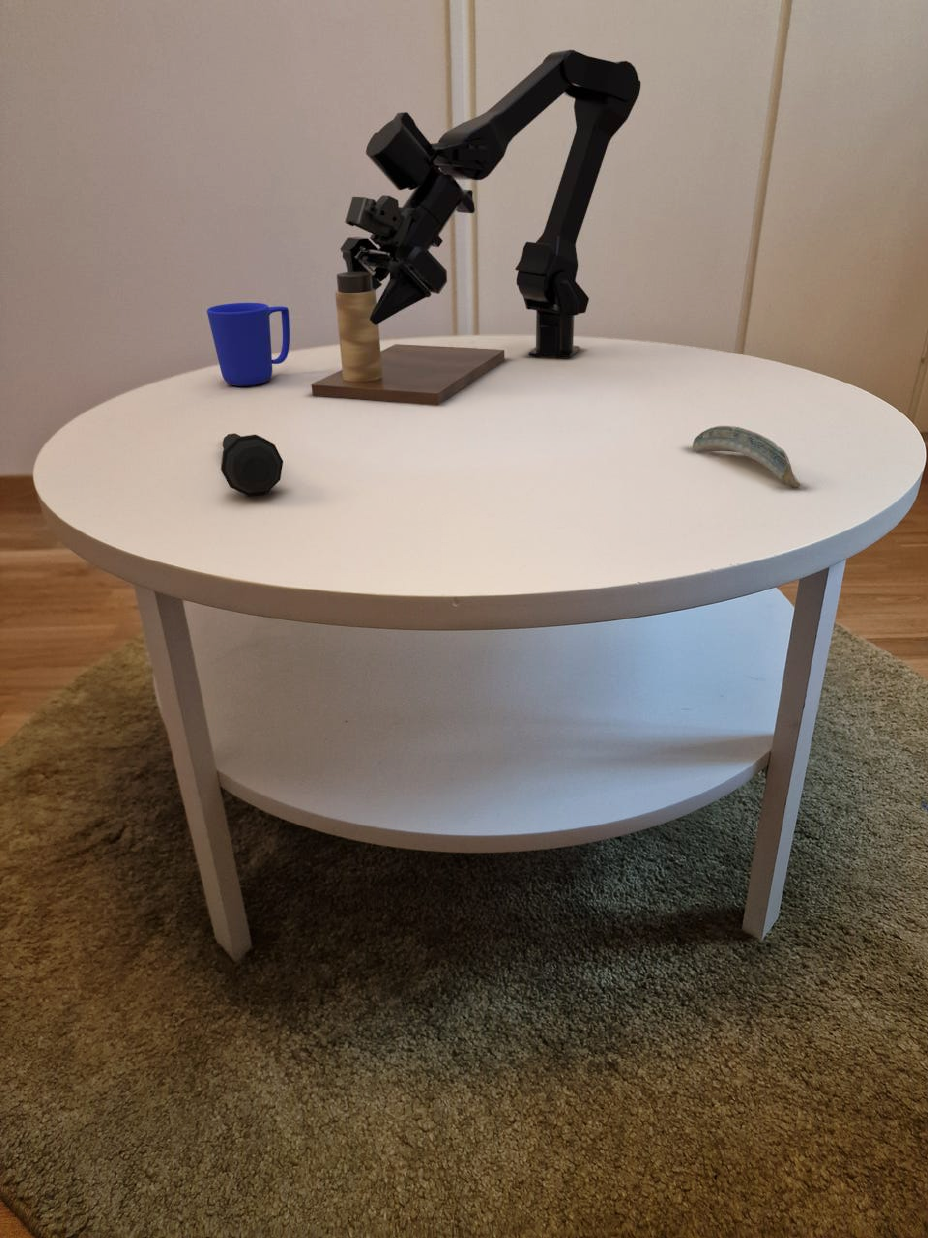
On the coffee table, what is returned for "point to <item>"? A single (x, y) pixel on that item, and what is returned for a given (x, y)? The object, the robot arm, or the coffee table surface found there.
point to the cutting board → (415, 374)
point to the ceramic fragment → (747, 449)
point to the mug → (246, 341)
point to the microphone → (251, 464)
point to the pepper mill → (358, 327)
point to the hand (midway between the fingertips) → (355, 317)
